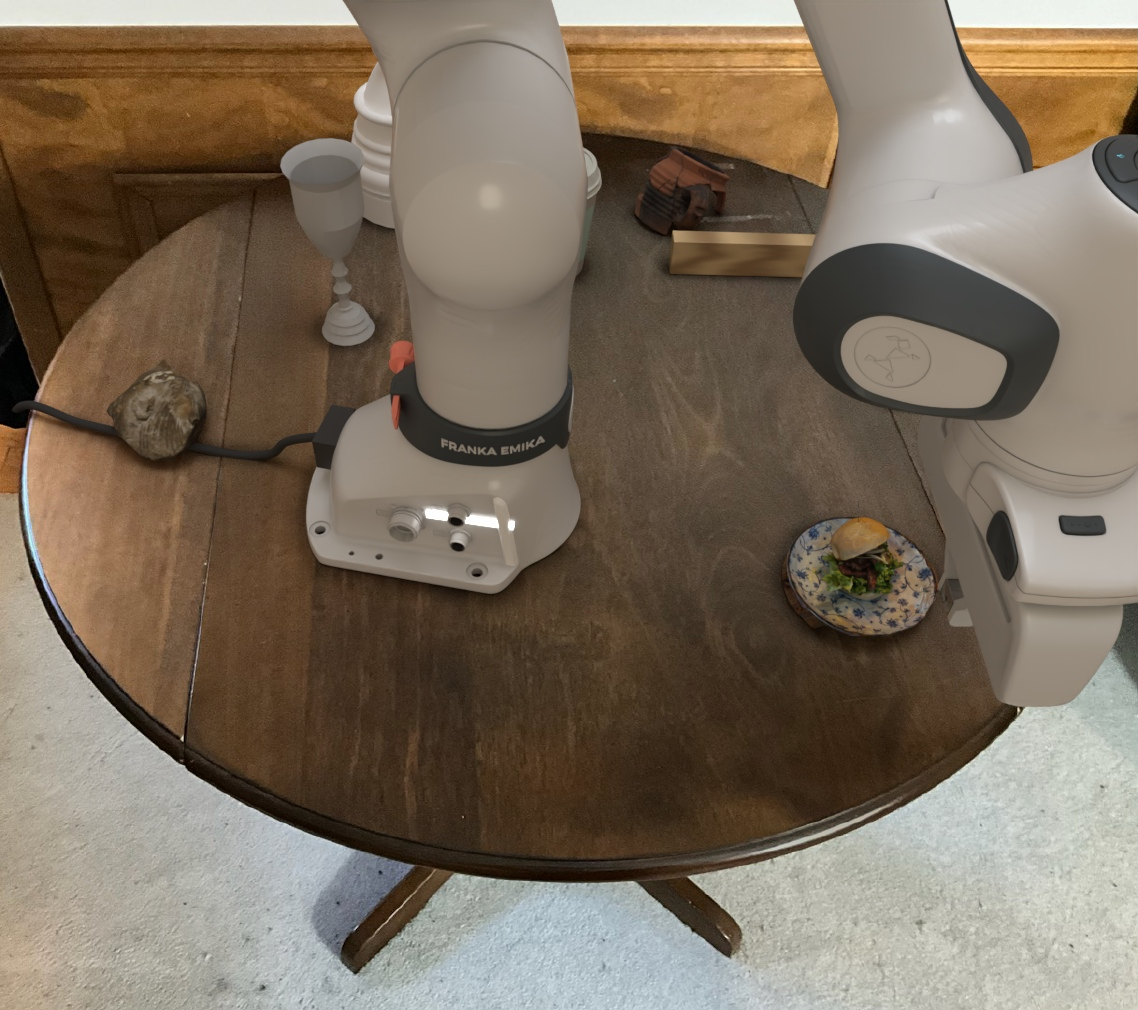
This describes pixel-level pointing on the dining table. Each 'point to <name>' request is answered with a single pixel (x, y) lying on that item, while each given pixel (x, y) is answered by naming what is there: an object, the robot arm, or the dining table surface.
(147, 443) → the fossilized seashell
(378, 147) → the honey pot
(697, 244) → the corner fence
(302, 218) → the chalice
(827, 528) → the burger
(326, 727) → the dining table surface
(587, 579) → the dining table surface
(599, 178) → the coffee cup
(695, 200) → the pottery mug
